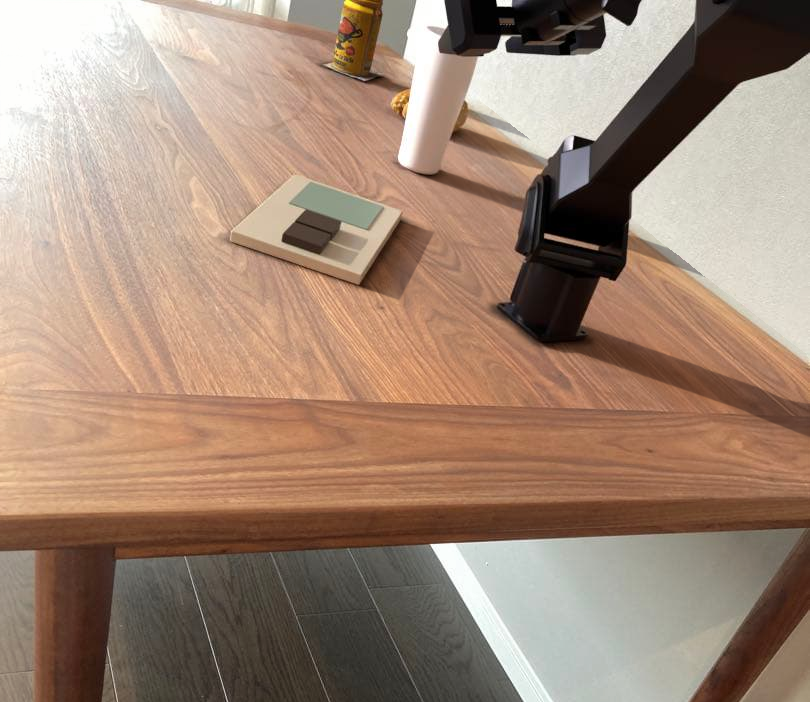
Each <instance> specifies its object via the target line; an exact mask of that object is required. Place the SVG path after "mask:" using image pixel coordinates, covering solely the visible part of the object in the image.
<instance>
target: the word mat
mask: <svg viewBox="0 0 810 702" xmlns="http://www.w3.org/2000/svg"><path fill="white" fill-rule="evenodd" d="M403 213H404V211H403V210H401V209H398V208H395V207H393V206H390V205H386V204H384V203H381V202H377V201H375V200H371V199H368V198H365V197H363V196H361V195H357V194H354V193H352V192H349V191H345V190H342V189H339V188H338V187H337V188H336V187H333V186H331V185H328V184H325V183H322V182H320V181H316V180H313V179H310V178H307V177H304V176H301V175H298V174H296V173H295V174H293V175H292V176H291V177H290V178H289V179H287V180H286V181H285V182H284V183H283V184H282V185H281V186H280V187H279V188H278V189H276V190H275V191H274V192H273V193H272V194H271V195H270V196H268V198H266V199H265V200H264V201H263V202H262V203H261V204H259V206H258V207H257V208H255V209H254V210H253V211H252V212H251V213H249V214H248V216H246V217H245V218H244V219H243V220H242V221H241V222H240V223H238V224H237V225H236V226H235V227H234V228H233V229H232V230H231V232H230V237H229V242H231V243H234V244H237V245H240V246H243V247H246V248H248V249H252V250H255V251H257V252H260V253H263V254H267V255H270V256H273V257H275V258H278V259H281V260H284V261H287V262H290V263H293V264H295V265H299V266H302V267H305V268H307V269H309V270H313V271H317V272H319V273H322V274H325V275H328V276H331V277H334V278H337V279H340V280H341V281H342V280H343V281H345V282H348V283H352V284H354V285H357V286H359V285H360V284H361V282H362V281H363V280H364V278H365V276H366V275H367V273H368V271H369V270H370V268H371V267H372V266H373V264H374V262H375V260H376V259H377V257H378V256H379V254H380V253H381V251H382V249H383V248H384V246H385V245H386V244H387V242H388V240H389V239H390V237H391V236H392V234H393V233H394V231H395V229H396V228H397V226H398V225H399V223H400V221H401V220H402V217H403Z"/></svg>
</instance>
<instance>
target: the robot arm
mask: <svg viewBox="0 0 810 702" xmlns="http://www.w3.org/2000/svg"><path fill="white" fill-rule="evenodd" d="M443 1H444V8H445V13H446V19H447V26H446V27H445V28H444V29H445V31H444V32H443V34H442V36H441V37H440V39H439V41H438V47H439V52H440V53H443V54H452V55H457V56H462V57H478V58H479V57H484V56H485V55H486V54H490V53H492V52H494V51H496V50H497V49H498V46H499V44H500V41H501V38H502V37H509V38H508V39H507V40H506V41H505V42H504V45H505V46H504V47H505V51H506V53H507V54H520V55H539V56H541V55H543V56H555V57H556V56H557V57H567V56H568V57H569V56H570V57H571V56H573V57H574V56H579V55H581V56H582V55H585V56H586V55H591V54H592V53H594V52H597V51H599V50H602V46H603V45H604V42H605V40H606V37H607V30H606V22H605V14H607V15H609V16H611V17H612V18H614V19H615V20H616V21H619V22H620V23H622V24H623V25H625V26H626V27H630V26H631V25H633V23H634V21H635V20H636V18H637V16H638V12H639V6H640V5H641V2H642V1H643V0H511V6H503V5H501V6H499V5H498V2H497V0H443ZM694 10H695V11H694V20H693V23H692V24H691V25H690V27H689V28H688V29H687V30H686V31H685V33H684V34H683V36H682V37H681V38H680V39H679V40H678V41H677V42H676V44H675V45H674V46H673V47H672V49H671V50H670V51H669V52H668V53H667V55H666V56H665V57H664V58H663V59H662V60H661V62H660V63H659V64H658V65H657V66H656V68H655V69H654V70H653V71H652V72H651V73H650V75H649V76H648V77H647V78H646V79H645V81H644V82H643V83H642V84H641V86H640V87H638V89H637V90H636V91H635V93H634V94H633V95H632V97H630V99H629V100H628V101H627V103H626V104H625V105H624V106H623V107H622V109H620V111H619V112H618V113H617V115H616V116H615V117H614V118H613V119H612V120H611V121H610V123H609V124H608V125H607V126H606V127H605V129H604V130H603V131H602V132H601V134H600V135H599V136H598V137H597V138H596V140H593V139H590V138H586V137H583V136H578V135H574V134H571V135H570V136H568V137H567V138H565V139H563V141H562V142H561V144H560V145H559V147H558V149H557V150H556V152H555V153H554V154H553V155H551V156H550V157H548V158H547V165H546V166H545V167H544V168H543V169H542V171H541V172H540V173H538V174H536V176H535V177H534V178H533V180H532V182H531V184H530V186H529V187H528V189H527V190H526V191H525V196H524V204H523V210H522V214H521V219H520V223H519V227H518V231H517V240H516V243H515V246H514V251H515V252H516V253H518V254H519V255H521V256H523V257H525V258H524V259H523V261H522V263H521V266H520V269H519V271H518V274H517V276H516V280H515V282H514V285H513V288H512V290H511V293H510V298H509V302H508V301H507V302H498V303H497V306H496V309H497V310H498V311H499V312H500V313H502V314H503V315H504V316H505V317H506V318H508V319H509V320H510V321H512V322H513V323H514V324H515V325H517V327H519V328H520V329H521V330H522V331H524V332H525V333H526V334H527V335H529V336H530V337H531V338H532V339H533V340H535V341H536V342H540V343H548V342H550V343H551V342H563V341H576V340H586V339H587V337H588V335H589V333H588V332H587V331H586V330H584V329H583V328H582V327H581V325H582V322H583V320H584V317H585V315H586V313H587V310H588V309H589V306H590V303H591V300H592V298H593V296H594V294H595V291H596V289H597V287H598V284H599V282H600V280H601V278H604V279H607V280H609V281H612V282H616V281H617V279H618V278H619V276H620V275H621V274H622V272H623V270H624V269H625V267H626V265H627V261H628V260H627V259H628V244H629V230H630V221H631V219H632V212H633V211H632V210H633V192H634V191H635V190H636V189H637V187H639V185H641V184H642V182H644V181H645V179H647V178H648V177H649V176H650V175H651V174H652V173H653V172H654V171H655V169H656V168H657V167H658V166H660V164H662V162H664V160H666V159H667V158H668V157H669V155H670V154H671V153H672V152H674V150H675V149H676V148H677V147H679V145H680V144H681V143H682V142H683V141H684V140H685V139H686V138H688V136H689V135H690V134H691V133H692V132H693V131H694V130H695V129H697V127H698V126H699V125H700V124H701V123H702V122H704V120H705V119H706V118H707V117H708V116H709V115H710V114H711V113H712V112H713V111H714V110H715V109H716V108H717V107H718V106H719V105H720V104H721V103H722V102H723V101H724V100H725V99H726V98H727V97H728V96H729V95H730V94H731V93H732V92H733V91H734V90H735V89H736V88H737V87H738V86H739V85H740V84H742V83H744V82H748V81H751V80H754V79H758V78H761V77H765V76H768V75H771V74H775V73H779V72H782V71H786V70H788V69H790V68H791V67H793V66H794V65H795V64H797V62H799V61H801V60H802V59H803V58H805V57H806V56H807V55H809V54H810V0H695V7H694ZM545 235H548V236H553V237H557V238H561V239H566V240H571V241H574V242H579V243H583V244H588V245H592V246H595V247H598V248H597V249H594V248H590V247H585V246H581V245H577V244H572V243H568V242H564V241H560V240H555V239H550V238H546V237H545Z"/></svg>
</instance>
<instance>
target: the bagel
mask: <svg viewBox="0 0 810 702" xmlns="http://www.w3.org/2000/svg"><path fill="white" fill-rule="evenodd" d="M410 92H411V87H410V88H407V89H405V90H402V91H400V92H399V93H398V94H396V95H395V96H394V97H393V98H392V100H391V108H392V110H393V111H394V112H395V113H396V114H397V115H398V116H400V117H403V119H404V120H405V121H406V115H407V110H408V104H409V98H410ZM468 105H469V104H468V102H467V101H466V100H464V102H463V105H462V108H461V110H460V113H459V116H458V118H457V121H456V124H455V126H454V129H453V132H452V133H455V132H456V131H458V130H459V129H460V128H461V127H462V126H464V125H465V123H466V121H467V119H468V113H469V107H468Z"/></svg>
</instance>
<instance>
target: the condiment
mask: <svg viewBox="0 0 810 702" xmlns="http://www.w3.org/2000/svg"><path fill="white" fill-rule="evenodd" d="M383 2H384V0H345V1H344V2H343V6H342V11H341V15H340V21H339V26H338V30H337V31H338V32H337V36H336V41H335V45H334V50H333V56H332V62H329V63H324V64H321V65H322V66H325V67H326V68H329V69H331V70H333V71H336V72H338V73H341V74H344V75H346V76H348V77H351V78H356V79H359V80H361V81H364V82H365V81H370V80H373V79H375V78H376V77H381V76H382V75H384V73H381V72H377V71H373V70H372V66H373V61H374V55H375V51H376V47H377V42H378V38H379V33H380V29H381V26H382V21H383V15H384V14H383V5H384V3H383Z"/></svg>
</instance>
